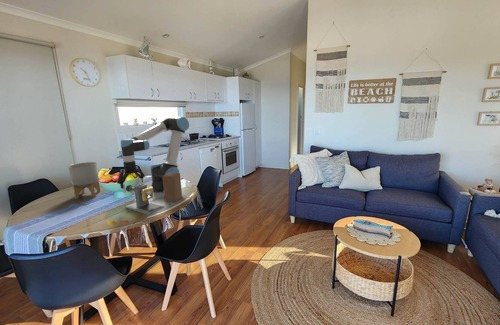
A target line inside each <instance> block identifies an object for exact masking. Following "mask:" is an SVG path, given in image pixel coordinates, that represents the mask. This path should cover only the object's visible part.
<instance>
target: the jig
mask: <svg viewBox="0 0 500 325" xmlns="http://www.w3.org/2000/svg"><path fill="white" fill-rule="evenodd" d="M133 187H134V190H135V192H134V195H135V202H133V203H131V204H128V205H125V208H126V209H128V210H132V211H135V212H138V213H142V214H145V215H150V214H152V213H154V211H155V212H156V210H157V211H159V210H161V209H163V208H165V205H164V204H160V203H157V202H153V201H150V199H149V200H146V201H143V199H142V193H141V192H140V190H141V189H146V188H148V185H147V184H144V183H142V185H139V184H138V185H136V186H133ZM148 196H149V195H146V197H148Z"/></svg>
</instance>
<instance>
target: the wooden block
mask: <svg viewBox="0 0 500 325" xmlns="http://www.w3.org/2000/svg"><path fill="white" fill-rule="evenodd" d="M162 178H163V187H164V191H163V195H164V201H165V202H178V201H179V200H181V198H183V192H182V190H183V189H182V183H181V173H180V172H179V173H168V174H166V175H164V176H163V177H162Z"/></svg>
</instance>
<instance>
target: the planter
mask: <svg viewBox="0 0 500 325" xmlns="http://www.w3.org/2000/svg"><path fill="white" fill-rule="evenodd" d="M67 167H68V172H69V177H70V181H71V182H70V183H71V185H72V189H73V193H74V194H73V195H74V198H75V200H78V199H79V198H80V197H79V196H80V194H82V195H83V194H85V188H87V189H88V191H89V192H90V193H91V196H92V198H96V192H97V193H101V187H100V182H99V181H100V177H99V178H98V175H99V170H98V164H97V162H96V161H95V162H94V161H87V162H79V163H74V164H70V165H68V166H67ZM95 190H96V192H95Z"/></svg>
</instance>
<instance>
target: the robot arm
mask: <svg viewBox="0 0 500 325" xmlns="http://www.w3.org/2000/svg"><path fill="white" fill-rule="evenodd" d="M189 127H190V123H189V120H188V118H186V117H185V116H180V115H179V116H173V115H172V116H168V117H166V118H164V119H162V120H160V121H159V122H158V123H157V124H156V125H155V124H154V125H153V126H152V127H150V128H148V129H146V130H145V131H144V130H143V132H142V131H141V132H140V133H138V134H137V135H135V136H133V137H131V138H124V139H123V138H122V139H121V140H120V148H121V154H122V162H123V163H122V164H123V168H124V169H120V170H119V175H118V178H117V182H116V183H117V184H119V185H120V189H121V191H122V193H127V191H126V186H125V184H126V183H125V181H126V179H127V178H128V176H129V175H133V174H135V175H136V176H137V177H138V186H139V185H142V184H143V182H144V178H145V174H144V172H143V170H142V169H141V166H140V165H136V161H135V160H136V158H135V157H136V156H135V152H141V151H146V150H149V149H150V142H149V141H150V140H151V139H154V138H155V137H157V136H159V135H160V134H162V133H166V132H168V131H170V132H171V136H170V140H169V144H168V149H167V153H166V158H165V161H164V162H158V163H157V162H156V163H153V164H151V165H150V172H151V173H150V174H151V185H150V187H153V193H161V192H164V187H163V178H162V177H163V176H164V175H166V174H168V173H180V170H179V168H178V166H179V165H178V163H177V162H178V157H179V152H180V148H181V143H182V138H183V136H184V135H185V133H186V131H188V129H190V128H189Z"/></svg>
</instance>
